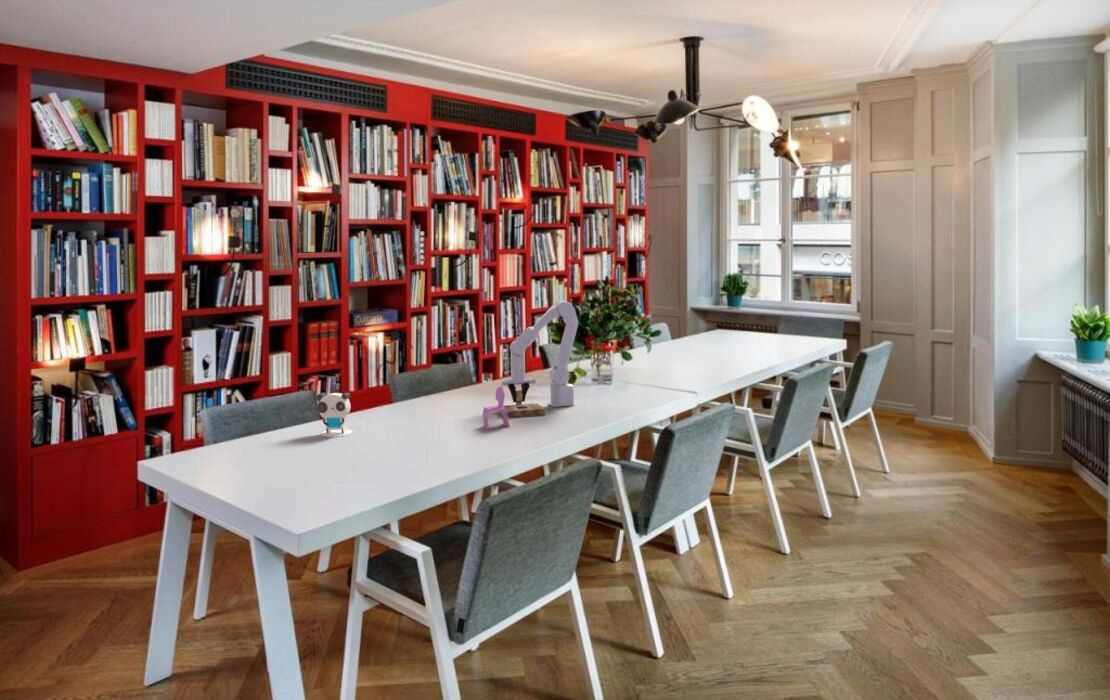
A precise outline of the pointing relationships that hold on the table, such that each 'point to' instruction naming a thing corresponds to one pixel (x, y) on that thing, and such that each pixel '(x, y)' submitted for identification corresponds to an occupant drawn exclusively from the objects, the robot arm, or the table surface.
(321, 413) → the panda figurine
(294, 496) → the table surface
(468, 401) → the table surface
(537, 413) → the board
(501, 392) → the toy chair
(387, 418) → the table surface
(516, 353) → the robot arm
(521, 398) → the peg
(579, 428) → the table surface
